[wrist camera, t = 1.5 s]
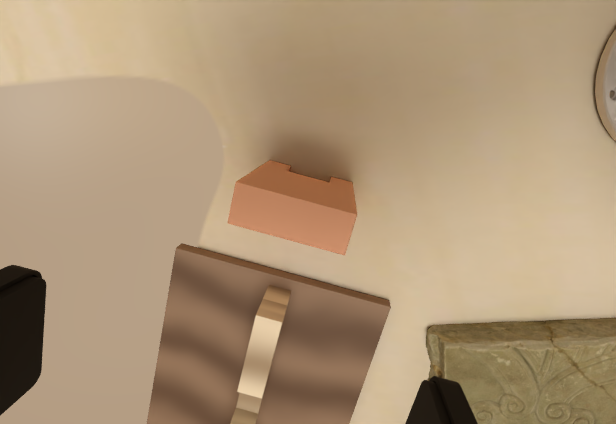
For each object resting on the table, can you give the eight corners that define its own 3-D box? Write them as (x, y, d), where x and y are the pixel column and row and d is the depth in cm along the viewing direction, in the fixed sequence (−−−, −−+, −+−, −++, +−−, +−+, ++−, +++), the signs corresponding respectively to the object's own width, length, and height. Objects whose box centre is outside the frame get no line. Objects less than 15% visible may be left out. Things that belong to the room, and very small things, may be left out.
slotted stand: (181, 243, 33) (146, 272, 27) (389, 300, 33) (399, 342, 27) (151, 418, 38) (116, 475, 32) (329, 469, 38) (326, 535, 32)
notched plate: (269, 160, 30) (235, 181, 21) (352, 182, 30) (357, 214, 21) (263, 189, 31) (227, 223, 21) (343, 210, 31) (344, 255, 21)
